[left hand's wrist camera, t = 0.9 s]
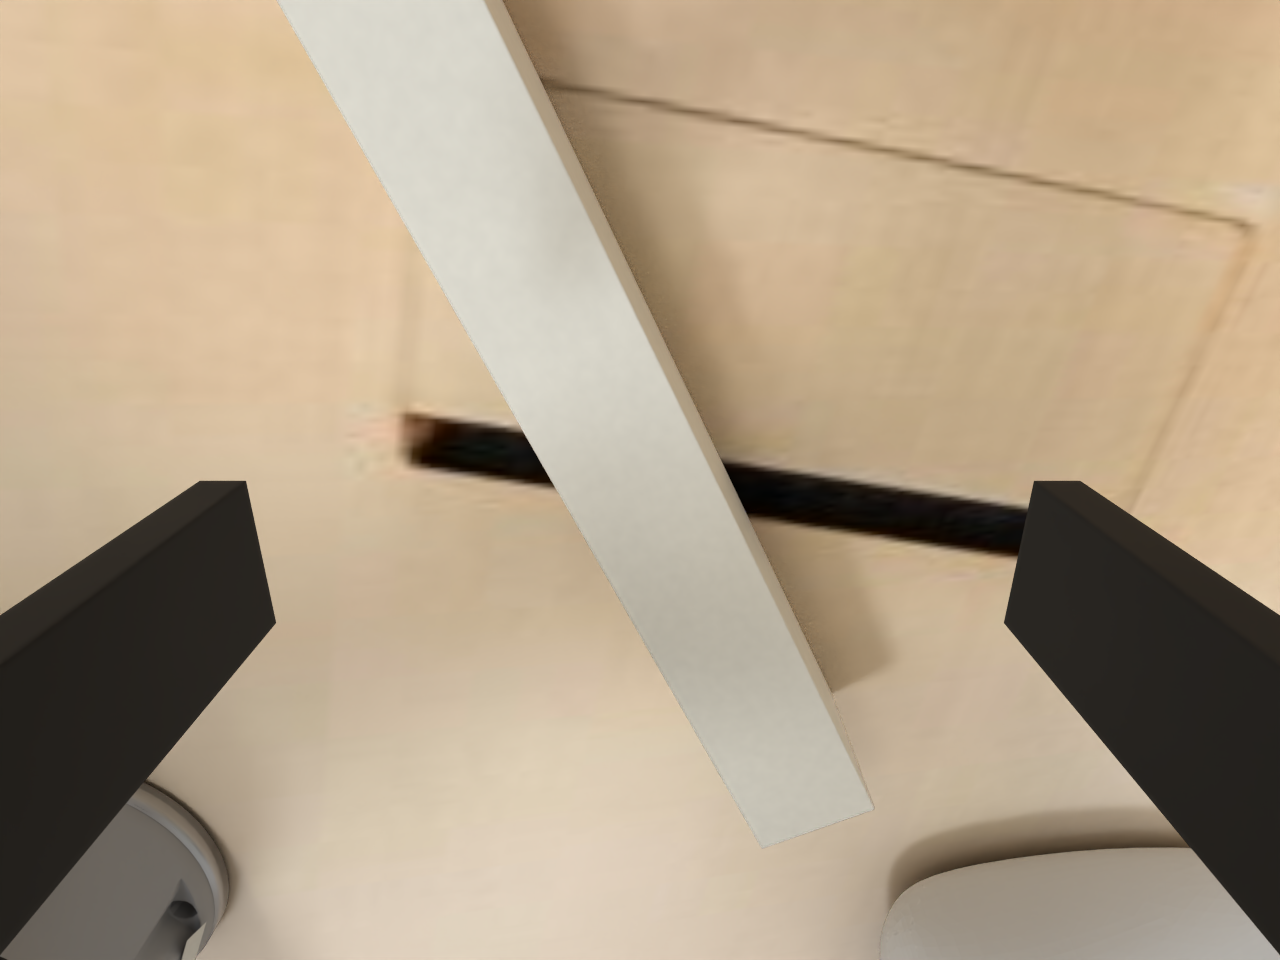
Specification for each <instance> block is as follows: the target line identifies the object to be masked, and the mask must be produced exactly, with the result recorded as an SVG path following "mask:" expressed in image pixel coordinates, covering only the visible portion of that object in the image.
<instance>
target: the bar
mask: <svg viewBox="0 0 1280 960" xmlns="http://www.w3.org/2000/svg"><path fill="white" fill-rule="evenodd" d="M277 2H278V4H279V5H280V7H281V9H282V11H283V12H284V14H285V16H286V18H287V19H288V21H289V23H290V25H291V26H292V28H293V30H294V32H295V33H296V35H297V37H298V39H299V40H300V42H301V44H302V46H303V47H304V49H305V51H306V53H307V54H308V56H309V58H310V60H311V61H312V63H313V65H314V67H315V68H316V70H317V72H318V74H319V75H320V77H321V79H322V81H323V82H324V84H325V86H326V88H327V89H328V91H329V93H330V95H331V96H332V98H333V100H334V102H335V103H336V105H337V107H338V109H339V110H340V112H341V114H342V116H343V117H344V119H345V121H346V123H347V124H348V126H349V128H350V130H351V131H352V133H353V135H354V137H355V138H356V140H357V142H358V144H359V145H360V147H361V149H362V151H363V152H364V154H365V156H366V158H367V159H368V161H369V163H370V165H371V166H372V168H373V170H374V172H375V173H376V175H377V177H378V179H379V180H380V182H381V184H382V186H383V187H384V189H385V191H386V193H387V194H388V196H389V198H390V199H391V201H392V203H393V205H394V206H395V208H396V210H397V212H398V213H399V215H400V217H401V219H402V220H403V222H404V224H405V226H406V227H407V229H408V231H409V233H410V234H411V236H412V238H413V240H414V241H415V243H416V245H417V247H418V248H419V250H420V252H421V254H422V255H423V257H424V259H425V261H426V262H427V264H428V266H429V268H430V269H431V271H432V273H433V275H434V276H435V278H436V280H437V282H438V283H439V285H440V287H441V289H442V290H443V292H444V294H445V296H446V297H447V299H448V301H449V303H450V304H451V306H452V308H453V310H454V311H455V313H456V315H457V317H458V318H459V320H460V322H461V324H462V325H463V327H464V329H465V331H466V332H467V334H468V336H469V338H470V339H471V341H472V343H473V345H474V346H475V348H476V350H477V352H478V353H479V355H480V357H481V359H482V360H483V362H484V364H485V366H486V367H487V369H488V371H489V373H490V374H491V376H492V378H493V380H494V381H495V383H496V385H497V387H498V388H499V390H500V392H501V394H502V395H503V397H504V399H505V401H506V402H507V404H508V406H509V408H510V409H511V411H512V413H513V415H514V416H515V418H516V420H517V422H518V423H519V425H520V427H521V429H522V430H523V432H524V434H525V436H526V437H527V439H528V441H529V443H530V444H531V446H532V448H533V449H534V451H535V453H536V455H537V456H538V458H539V460H540V462H541V463H542V465H543V467H544V469H545V470H546V472H547V474H548V476H549V477H550V479H551V481H552V483H553V484H554V486H555V488H556V490H557V491H558V493H559V495H560V497H561V498H562V500H563V502H564V504H565V505H566V507H567V509H568V511H569V512H570V514H571V516H572V518H573V519H574V521H575V523H576V525H577V526H578V528H579V530H580V532H581V533H582V535H583V537H584V539H585V540H586V542H587V544H588V546H589V547H590V549H591V551H592V553H593V554H594V556H595V558H596V560H597V561H598V563H599V565H600V567H601V568H602V570H603V572H604V574H605V575H606V577H607V579H608V581H609V582H610V584H611V586H612V588H613V589H614V591H615V593H616V595H617V596H618V598H619V600H620V602H621V603H622V605H623V607H624V609H625V610H626V612H627V614H628V616H629V617H630V619H631V621H632V623H633V624H634V626H635V628H636V630H637V631H638V633H639V635H640V637H641V638H642V640H643V642H644V644H645V645H646V647H647V649H648V651H649V652H650V654H651V656H652V658H653V659H654V661H655V663H656V665H657V666H658V668H659V670H660V672H661V673H662V675H663V677H664V679H665V680H666V682H667V684H668V686H669V687H670V689H671V691H672V692H673V694H674V696H675V698H676V699H677V701H678V703H679V705H680V706H681V708H682V710H683V712H684V713H685V715H686V717H687V719H688V720H689V722H690V724H691V726H692V727H693V729H694V731H695V733H696V734H697V736H698V738H699V740H700V741H701V743H702V745H703V747H704V748H705V750H706V752H707V754H708V755H709V757H710V759H711V761H712V762H713V764H714V766H715V768H716V769H717V771H718V773H719V775H720V776H721V778H722V780H723V782H724V783H725V785H726V787H727V789H728V790H729V792H730V794H731V796H732V797H733V799H734V801H735V803H736V804H737V806H738V808H739V810H740V811H741V813H742V815H743V817H744V818H745V820H746V822H747V824H748V825H749V827H750V829H751V831H752V832H753V834H754V836H755V838H756V839H757V841H758V843H759V845H760V846H761V848H766V847H768V846H771V845H774V844H777V843H780V842H783V841H786V840H788V839H791V838H794V837H797V836H800V835H803V834H806V833H809V832H811V831H814V830H817V829H820V828H823V827H826V826H829V825H831V824H834V823H837V822H840V821H843V820H846V819H849V818H851V817H854V816H857V815H860V814H863V813H866V812H869V811H871V810H874V805H873V802H872V799H871V797H870V794H869V791H868V789H867V786H866V783H865V781H864V778H863V775H862V773H861V770H860V767H859V765H858V762H857V759H856V757H855V754H854V751H853V748H852V746H851V743H850V740H849V738H848V735H847V732H846V730H845V727H844V724H843V722H842V719H841V716H840V714H839V711H838V708H837V706H836V703H835V700H834V698H833V695H832V693H831V691H830V688H829V686H828V684H827V682H826V680H825V678H824V676H823V674H822V672H821V669H820V667H819V665H818V663H817V661H816V659H815V657H814V655H813V653H812V651H811V648H810V646H809V644H808V642H807V640H806V638H805V636H804V634H803V632H802V630H801V627H800V625H799V623H798V621H797V619H796V617H795V615H794V613H793V611H792V608H791V606H790V604H789V602H788V600H787V598H786V596H785V594H784V592H783V590H782V587H781V585H780V583H779V581H778V579H777V577H776V575H775V573H774V571H773V568H772V566H771V564H770V562H769V560H768V558H767V556H766V554H765V552H764V550H763V547H762V545H761V543H760V541H759V539H758V537H757V535H756V533H755V531H754V529H753V526H752V524H751V522H750V520H749V518H748V516H747V514H746V512H745V510H744V507H743V505H742V503H741V501H740V499H739V497H738V495H737V493H736V491H735V489H734V486H733V484H732V482H731V480H730V478H729V476H728V474H727V472H726V470H725V467H724V465H723V463H722V461H721V459H720V457H719V455H718V453H717V451H716V449H715V446H714V444H713V442H712V440H711V438H710V436H709V434H708V432H707V430H706V428H705V425H704V423H703V421H702V419H701V417H700V415H699V413H698V411H697V409H696V406H695V404H694V402H693V400H692V398H691V396H690V394H689V392H688V390H687V388H686V385H685V383H684V381H683V379H682V377H681V375H680V373H679V371H678V369H677V366H676V364H675V362H674V360H673V358H672V356H671V354H670V352H669V350H668V348H667V345H666V343H665V341H664V339H663V337H662V335H661V333H660V331H659V329H658V327H657V324H656V322H655V320H654V318H653V316H652V314H651V312H650V310H649V308H648V305H647V303H646V301H645V299H644V297H643V295H642V293H641V291H640V289H639V287H638V284H637V282H636V280H635V278H634V276H633V274H632V272H631V270H630V268H629V265H628V263H627V261H626V259H625V257H624V255H623V253H622V251H621V249H620V247H619V244H618V242H617V240H616V238H615V236H614V234H613V232H612V230H611V228H610V226H609V223H608V221H607V219H606V217H605V215H604V213H603V211H602V209H601V207H600V204H599V202H598V200H597V198H596V196H595V194H594V192H593V190H592V188H591V186H590V183H589V181H588V179H587V177H586V175H585V173H584V171H583V169H582V167H581V164H580V162H579V160H578V158H577V156H576V154H575V152H574V150H573V148H572V146H571V143H570V141H569V139H568V137H567V135H566V133H565V131H564V129H563V127H562V125H561V122H560V120H559V118H558V116H557V114H556V112H555V110H554V108H553V106H552V103H551V101H550V99H549V97H548V95H547V93H546V91H545V89H544V87H543V85H542V82H541V80H540V78H539V76H538V74H537V72H536V70H535V68H534V66H533V63H532V61H531V59H530V57H529V55H528V53H527V51H526V49H525V47H524V45H523V42H522V40H521V38H520V36H519V34H518V32H517V30H516V28H515V26H514V24H513V21H512V19H511V17H510V15H509V13H508V11H507V9H506V7H505V5H504V2H503V0H277Z"/></svg>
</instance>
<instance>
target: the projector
mask: <svg viewBox="0 0 1280 960" xmlns="http://www.w3.org/2000/svg"><path fill="white" fill-rule="evenodd" d="M879 960H1280V955H1279V954H1278V952H1277V951H1276V950H1275V949H1274V948H1273V946H1272V945H1271V944H1270V943H1269V942H1268V940H1267V939H1266V938H1265V937H1264V936H1263V934H1262V933H1261V932H1260V931H1259V929H1258V928H1257V927H1256V926H1255V925H1254V923H1253V922H1252V921H1251V920H1250V919H1249V917H1248V916H1247V915H1246V914H1245V913H1244V911H1243V910H1242V909H1241V908H1240V907H1239V905H1238V904H1237V903H1236V902H1235V901H1234V899H1233V898H1232V897H1231V896H1230V895H1229V893H1228V892H1227V891H1226V890H1225V889H1224V887H1223V886H1222V885H1221V884H1220V883H1219V881H1218V880H1217V879H1216V878H1215V876H1214V875H1213V874H1212V873H1211V872H1210V870H1209V869H1208V868H1207V867H1206V866H1205V864H1204V863H1203V862H1202V861H1201V860H1200V858H1199V857H1198V856H1197V855H1196V854H1195V852H1194V851H1193V850H1192V849H1191V848H1119V849H1099V850H1086V851H1073V852H1063V853H1053V854H1044V855H1036V856H1028V857H1021V858H1014V859H1007V860H1001V861H995V862H989V863H983V864H977V865H973V866H968V867H963V868H959V869H954V870H951V871H947V872H944V873H940V874H937V875H934V876H931V877H929V878H926V879H924V880H921V881H919V882H917V883H916V884H914V885H912V886H911V887H909V888H908V889H907V890H905V891H904V892H903V893H902V894H901V895H900V896H899V897H898V899H897V900H896V901H895V902H894V904H893V906H892V907H891V909H890V911H889V913H888V916H887V918H886V920H885V923H884V926H883V929H882V934H881V940H880V956H879Z"/></svg>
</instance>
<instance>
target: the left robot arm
mask: <svg viewBox="0 0 1280 960" xmlns="http://www.w3.org/2000/svg"><path fill="white" fill-rule="evenodd" d="M275 624H276V620H275V616H274V611H273V606H272V602H271V597H270V592H269V587H268V583H267V578H266V573H265V569H264V564H263V559H262V555H261V550H260V545H259V540H258V536H257V531H256V526H255V522H254V517H253V512H252V508H251V503H250V498H249V493H248V489H247V484H246V481H199V482H198V483H196V484H195V485H193V486H192V487H190V488H189V489H187V490H186V491H184V492H183V493H181V494H180V495H178V496H177V497H175V498H174V499H172V500H171V501H169V502H168V503H166V504H165V505H163V506H162V507H160V508H159V509H157V510H156V511H154V512H153V513H152V514H150V515H149V516H147V517H146V518H144V519H143V520H141V521H140V522H138V523H137V524H135V525H134V526H132V527H131V528H129V529H128V530H126V531H125V532H123V533H122V534H120V535H119V536H117V537H116V538H114V539H113V540H111V541H110V542H108V543H107V544H106V545H104V546H103V547H101V548H100V549H98V550H97V551H95V552H94V553H92V554H91V555H89V556H88V557H86V558H85V559H83V560H82V561H80V562H79V563H77V564H76V565H74V566H73V567H71V568H70V569H68V570H67V571H65V572H64V573H62V574H61V575H59V576H58V577H57V578H55V579H54V580H52V581H51V582H49V583H48V584H46V585H45V586H43V587H42V588H40V589H39V590H37V591H36V592H34V593H33V594H31V595H30V596H28V597H27V598H25V599H24V600H22V601H21V602H19V603H18V604H16V605H15V606H13V607H12V608H11V609H9V610H8V611H6V612H5V613H3V614H2V615H0V960H195V959H196V957H197V955H198V954H199V953H200V952H201V951H202V949H203V948H204V947H205V945H206V944H207V942H208V940H209V939H210V937H211V935H212V933H213V932H214V930H215V928H216V926H217V925H218V923H219V921H220V919H221V918H222V916H223V914H224V911H225V909H226V906H227V901H228V896H229V879H228V874H227V869H226V866H225V863H224V860H223V858H222V855H221V853H220V851H219V849H218V847H217V846H216V844H215V842H214V841H213V839H212V838H211V836H210V835H209V834H208V832H207V831H206V830H205V829H204V827H203V826H202V825H201V824H200V823H199V822H198V821H197V820H196V819H195V818H194V817H193V816H192V815H191V814H190V813H189V812H188V811H187V810H185V809H184V808H183V807H182V806H181V805H179V804H178V803H177V802H175V801H174V800H173V799H171V798H170V797H168V796H167V795H165V794H164V793H162V792H160V791H159V790H157V789H155V788H154V787H152V786H150V785H148V784H146V783H144V781H145V780H146V779H147V778H148V777H149V775H150V774H151V773H152V772H153V770H154V769H155V768H156V767H157V766H158V764H159V763H160V762H161V761H162V760H163V758H164V757H165V756H166V755H167V754H168V752H169V751H170V750H171V749H172V748H173V746H174V745H175V744H176V743H177V742H178V740H179V739H180V738H181V737H182V736H183V734H184V733H185V732H186V731H187V730H188V728H189V727H190V726H191V725H192V724H193V722H194V721H195V720H196V719H197V717H198V716H199V715H200V714H201V713H202V711H203V710H204V709H205V708H206V707H207V705H208V704H209V703H210V702H211V701H212V699H213V698H214V697H215V696H216V695H217V693H218V692H219V691H220V690H221V689H222V687H223V686H224V685H225V684H226V683H227V681H228V680H229V679H230V678H231V677H232V675H233V674H234V673H235V672H236V671H237V669H238V668H239V667H240V666H241V664H242V663H243V662H244V661H245V660H246V658H247V657H248V656H249V655H250V654H251V652H252V651H253V650H254V649H255V648H256V646H257V645H258V644H259V643H260V642H261V640H262V639H263V638H264V637H265V636H266V634H267V633H268V632H269V631H270V630H271V628H272V627H273V626H274V625H275ZM1004 624H1005V625H1006V626H1007V627H1008V628H1009V630H1010V631H1011V632H1012V633H1013V634H1014V636H1015V637H1016V638H1017V639H1018V640H1019V642H1020V643H1021V644H1022V645H1023V646H1024V648H1025V649H1026V650H1027V651H1028V652H1029V654H1030V655H1031V656H1032V657H1033V658H1034V660H1035V661H1036V662H1037V663H1038V664H1039V666H1040V667H1041V668H1042V669H1043V671H1044V672H1045V673H1046V674H1047V675H1048V677H1049V678H1050V679H1051V680H1052V681H1053V683H1054V684H1055V685H1056V686H1057V687H1058V689H1059V690H1060V691H1061V692H1062V693H1063V695H1064V696H1065V697H1066V698H1067V699H1068V701H1069V702H1070V703H1071V704H1072V705H1073V707H1074V708H1075V709H1076V710H1077V711H1078V713H1079V714H1080V715H1081V716H1082V717H1083V719H1084V720H1085V721H1086V722H1087V724H1088V725H1089V726H1090V727H1091V728H1092V730H1093V731H1094V732H1095V733H1096V734H1097V736H1098V737H1099V738H1100V739H1101V740H1102V742H1103V743H1104V744H1105V745H1106V746H1107V748H1108V749H1109V750H1110V751H1111V752H1112V754H1113V755H1114V756H1115V757H1116V758H1117V760H1118V761H1119V762H1120V763H1121V764H1122V766H1123V767H1124V768H1125V769H1126V770H1127V772H1128V773H1129V774H1130V775H1131V777H1132V778H1133V779H1134V780H1135V781H1136V783H1137V784H1138V785H1139V786H1140V787H1141V789H1142V790H1143V791H1144V792H1145V793H1146V795H1147V796H1148V797H1149V798H1150V799H1151V801H1152V802H1153V803H1154V804H1155V805H1156V807H1157V808H1158V809H1159V810H1160V811H1161V813H1162V814H1163V815H1164V816H1165V817H1166V819H1167V820H1168V821H1169V822H1170V823H1171V825H1172V826H1173V827H1174V828H1175V830H1176V831H1177V832H1178V833H1179V834H1180V836H1181V837H1182V838H1183V839H1184V840H1185V842H1186V843H1187V844H1188V845H1189V846H1190V848H1191V849H1192V850H1193V851H1194V852H1195V854H1196V855H1197V856H1198V857H1199V858H1200V860H1201V861H1202V862H1203V863H1204V864H1205V866H1206V867H1207V868H1208V869H1209V870H1210V872H1211V873H1212V874H1213V875H1214V876H1215V878H1216V879H1217V880H1218V881H1219V883H1220V884H1221V885H1222V886H1223V887H1224V889H1225V890H1226V891H1227V892H1228V893H1229V895H1230V896H1231V897H1232V898H1233V899H1234V901H1235V902H1236V903H1237V904H1238V905H1239V907H1240V908H1241V909H1242V910H1243V911H1244V913H1245V914H1246V915H1247V916H1248V917H1249V919H1250V920H1251V921H1252V922H1253V923H1254V925H1255V926H1256V927H1257V928H1258V929H1259V931H1260V932H1261V933H1262V934H1263V936H1264V937H1265V938H1266V939H1267V940H1268V942H1269V943H1270V944H1271V945H1272V946H1273V948H1274V949H1275V950H1276V951H1277V952H1278V954H1279V955H1280V615H1278V614H1277V613H1275V612H1274V611H1272V610H1271V609H1269V608H1268V607H1267V606H1265V605H1264V604H1262V603H1261V602H1259V601H1258V600H1256V599H1255V598H1253V597H1252V596H1250V595H1249V594H1247V593H1246V592H1244V591H1243V590H1241V589H1240V588H1238V587H1237V586H1235V585H1234V584H1232V583H1231V582H1229V581H1228V580H1226V579H1225V578H1223V577H1222V576H1221V575H1219V574H1218V573H1216V572H1215V571H1213V570H1212V569H1210V568H1209V567H1207V566H1206V565H1204V564H1203V563H1201V562H1200V561H1198V560H1197V559H1195V558H1194V557H1192V556H1191V555H1189V554H1188V553H1186V552H1185V551H1183V550H1182V549H1180V548H1179V547H1177V546H1176V545H1174V544H1173V543H1172V542H1170V541H1169V540H1167V539H1166V538H1164V537H1163V536H1161V535H1160V534H1158V533H1157V532H1155V531H1154V530H1152V529H1151V528H1149V527H1148V526H1146V525H1145V524H1143V523H1142V522H1140V521H1139V520H1137V519H1136V518H1134V517H1133V516H1131V515H1130V514H1128V513H1127V512H1126V511H1124V510H1123V509H1121V508H1120V507H1118V506H1117V505H1115V504H1114V503H1112V502H1111V501H1109V500H1108V499H1106V498H1105V497H1103V496H1102V495H1100V494H1099V493H1097V492H1096V491H1094V490H1093V489H1091V488H1090V487H1088V486H1087V485H1085V484H1084V483H1082V482H1081V481H1034V484H1033V489H1032V493H1031V498H1030V503H1029V508H1028V512H1027V517H1026V522H1025V526H1024V531H1023V536H1022V540H1021V545H1020V550H1019V555H1018V559H1017V564H1016V569H1015V573H1014V578H1013V583H1012V587H1011V592H1010V597H1009V602H1008V606H1007V611H1006V616H1005V620H1004Z"/></svg>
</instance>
